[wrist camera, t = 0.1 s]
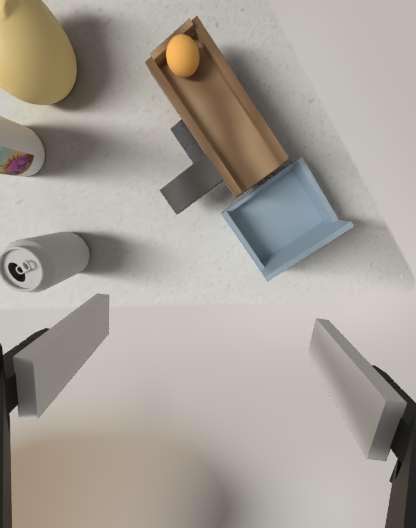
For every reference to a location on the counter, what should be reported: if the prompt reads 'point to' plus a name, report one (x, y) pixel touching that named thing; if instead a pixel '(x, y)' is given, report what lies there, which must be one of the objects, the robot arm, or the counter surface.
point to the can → (42, 261)
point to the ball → (182, 55)
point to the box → (285, 219)
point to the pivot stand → (188, 140)
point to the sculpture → (34, 53)
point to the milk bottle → (19, 149)
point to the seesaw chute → (215, 123)
